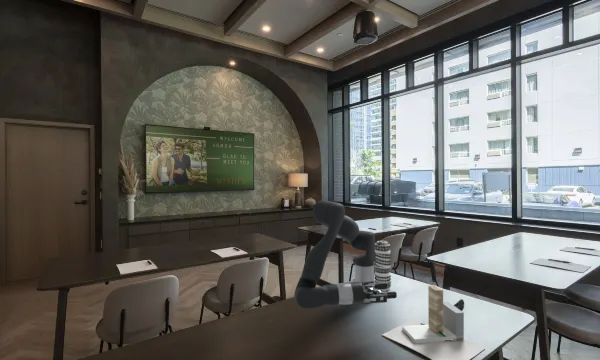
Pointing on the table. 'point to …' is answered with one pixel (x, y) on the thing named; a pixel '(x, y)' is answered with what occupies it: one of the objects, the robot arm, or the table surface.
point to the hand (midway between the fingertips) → (391, 290)
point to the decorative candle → (382, 263)
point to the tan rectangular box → (435, 309)
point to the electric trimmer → (459, 304)
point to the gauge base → (451, 327)
